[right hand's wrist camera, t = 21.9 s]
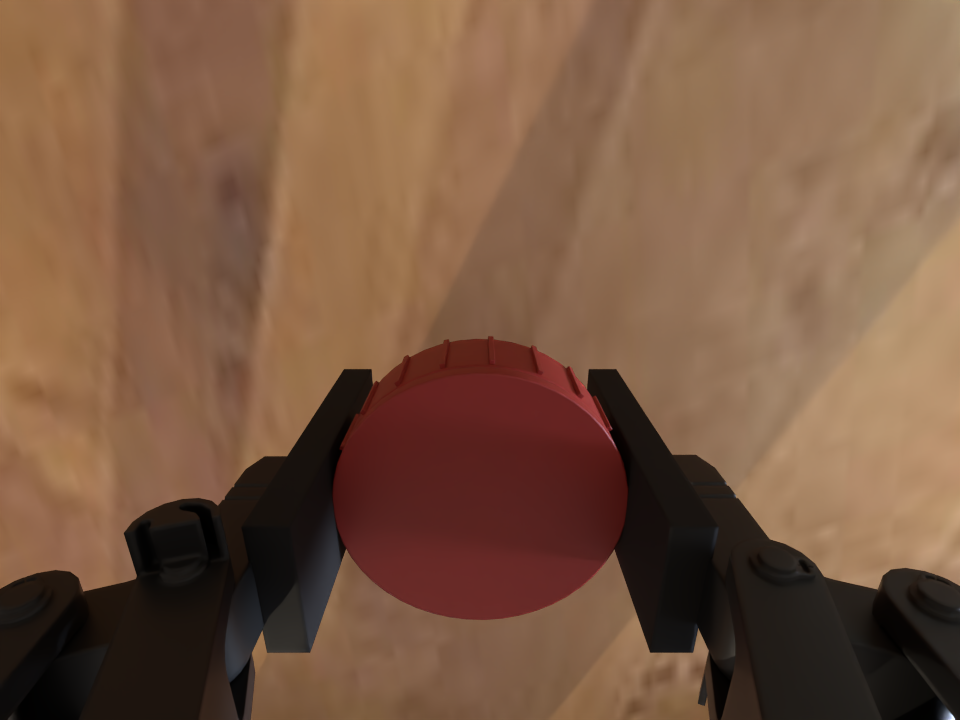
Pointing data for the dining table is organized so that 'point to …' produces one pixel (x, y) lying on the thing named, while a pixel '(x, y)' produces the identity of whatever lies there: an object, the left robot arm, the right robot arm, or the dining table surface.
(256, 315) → the dining table surface
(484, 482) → the lid
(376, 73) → the dining table surface
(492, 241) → the dining table surface
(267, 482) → the right robot arm
